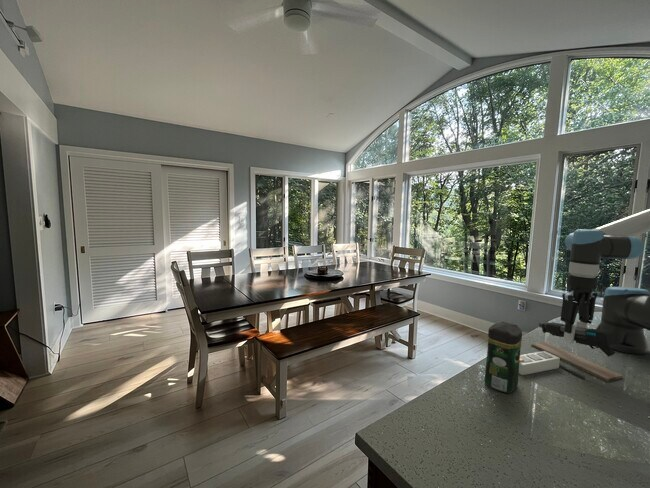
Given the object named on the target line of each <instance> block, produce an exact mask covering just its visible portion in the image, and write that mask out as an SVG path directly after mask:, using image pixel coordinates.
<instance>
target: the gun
mask: <svg viewBox="0 0 650 488" xmlns="http://www.w3.org/2000/svg"><path fill="white" fill-rule="evenodd" d="M538 328H541V329H542V333H543V334H547V333H548V334H550V335H552V336H555V337H559V338H564V332H565V331H564V330H565V323H559V322H548V321H542V322H539V323H538ZM613 341H614V338H613V333H612V332H610V331H605V330H597V329H596V328H581V327H576V328H575V336H574V342H575V343H576V344H580V345H584V346H588V347H589V348H591V349H592V350H596V349H600V350H601V352H603V353H604V354H605V355H606V356H607V357H611V356H613V355H615V354H616V352H615V350H614V349H610V347H609V346H610V345H612V342H613Z"/></svg>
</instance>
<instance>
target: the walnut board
mask: <svg viewBox="0 0 650 488" xmlns="http://www.w3.org/2000/svg"><path fill="white" fill-rule="evenodd" d="M531 347H533V348H535V349H537V350H540V352H541V351H546V352H548V353H550V354H552V355H554V356H557V357H559V358H560V360H561V361H563V362H565V363H567V364H569V365H572V366H574V367H576V368H578V369H579V370H582V371H584V372H586V373H589V374H590V375H592V376H595V377H596V378H599V379H601V380H603V381H606V382H610V381H615V380H619V379H622V378H623V375H622V374H620V373H618V372H615V371H612V370H610V369H609V368H606V367H603V366H602V365H599V364H597V363H595V362H592V361H590V360H588V359H586V358H584V357H581V356H579V355H577V354H574V353H571V352H570V351H567V350H565V349H563V348H560V347H558V346H556V345H553V344H552V343H549V342H547V341H540V342H535V343H531Z"/></svg>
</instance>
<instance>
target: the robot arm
mask: <svg viewBox="0 0 650 488" xmlns="http://www.w3.org/2000/svg"><path fill="white" fill-rule="evenodd" d="M648 232H650V208H649V209H646V210H645V209H644V210H643V211H640V212H637V213H634V214H632V215H629V216H626V217H623V218H620V219H617V220H615V221H612V222H610V223H607V224H604V225H602V226H598V227H596V228H592V229H588V228H587V229H584V228H582V229H581V228H579V229H575V230H574V232H571V233H569V234H568V235H567V236H566V238H565V240H564V243H565V247H566V248H567V249H568V250H569V251H570V255H569V265H568V273H569V274H568V275H567V280H566V284H567V285H568V286H569V287H570V288H569V290H568V292H567V293H562V295H561V297H562V304H561V305H562V306H561V312H560V322H563V323H564V324H565V330H564V331H565V332H564V337H563V341H565V342H568V343H570V344H574V343H575V341H574V336H575V328H576V327H581V328H587V327H588V324H592V321H594V316H595V315H594V314H595V307H596V301H597V300H596V299H597V297H598V292H594V291H593V290H595V289H596V288H597V287H598V285H597V284H598V276H599V272H600V271H599V270H600V263H601V259H614V260H616V259H618V260H633V259H636V258H639V257H640V256H642V254H643V253H644V243H643V242H642V240H641V239H639V237H637V236H639V235H643V234H645V233H648ZM601 308H602V310H601V317H600V322H599V323H598V325H597V327H596V328H595V329H597V330H605V331H610V332H612V333H613V338H614V341H613V342H612V345H610V346H609V347H610V349H612V350H613V351H618V352H620V353H621V352H622V353H627V354H633V355H634V354H635V355H645V354H647V353H648V350H649V345H648V342H647V341H648V340H647V339H646V335H645V332H644V329H645V330H647V331H650V291H649V290H648V289H645V288H636V287H627V286H608V287H606V289H605V291H604V295H603V300H602V307H601ZM577 316H578V320H576V318H577ZM575 322H576V323H575Z"/></svg>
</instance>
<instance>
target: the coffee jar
mask: <svg viewBox="0 0 650 488" xmlns="http://www.w3.org/2000/svg"><path fill="white" fill-rule="evenodd" d="M522 339H523V330H522V329H521V328H520V327H519V326H518V325H517V324H513V323H510V322H506V321H501V322H498V323H497V322H496V323H493V324H492V325H490V327H489V328H488V333H487V350H486V362H485V372H484V378H483V379H484V384H486V385H487V386H488V387H489V388H491V389H493V390H494V391H497V392H501V393H505V394H510V393H512V392H514V391H515V390H516V388H517V387H518V385H519V375H520V374H519V361H520V355H521V348H522V341H523V340H522Z"/></svg>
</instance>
